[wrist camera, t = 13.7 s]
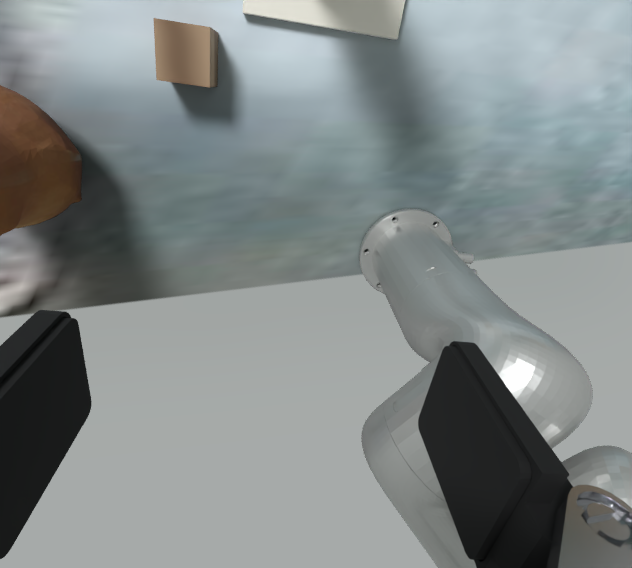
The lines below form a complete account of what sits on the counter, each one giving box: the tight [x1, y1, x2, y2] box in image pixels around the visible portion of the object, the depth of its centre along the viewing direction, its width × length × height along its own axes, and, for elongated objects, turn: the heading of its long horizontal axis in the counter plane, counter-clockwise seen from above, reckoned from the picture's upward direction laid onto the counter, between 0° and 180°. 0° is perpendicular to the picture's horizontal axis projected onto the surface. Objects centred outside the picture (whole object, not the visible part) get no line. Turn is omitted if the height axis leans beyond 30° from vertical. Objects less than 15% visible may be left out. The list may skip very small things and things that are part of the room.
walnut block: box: [154, 18, 218, 87], centre depth 39 cm, size 5×5×5 cm
